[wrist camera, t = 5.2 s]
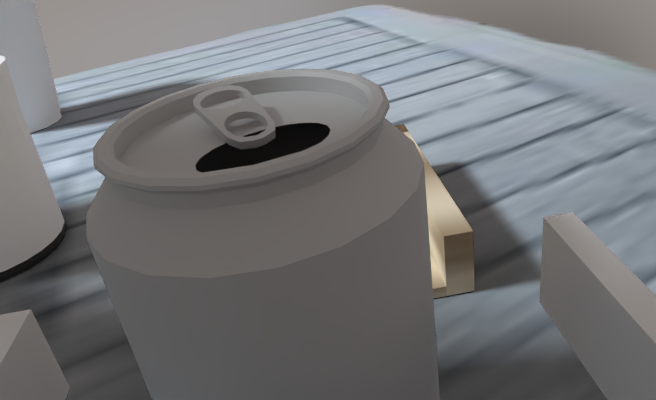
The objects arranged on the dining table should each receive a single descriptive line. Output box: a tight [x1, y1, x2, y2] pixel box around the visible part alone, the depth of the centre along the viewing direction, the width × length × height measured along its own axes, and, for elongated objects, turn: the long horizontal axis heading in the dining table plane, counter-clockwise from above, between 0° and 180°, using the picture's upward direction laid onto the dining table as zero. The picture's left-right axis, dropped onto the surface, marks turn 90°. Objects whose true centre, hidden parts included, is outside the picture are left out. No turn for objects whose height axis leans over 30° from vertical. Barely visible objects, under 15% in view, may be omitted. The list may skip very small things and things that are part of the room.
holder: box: [395, 124, 475, 298], centre depth 29 cm, size 12×13×3 cm
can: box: [86, 69, 440, 400], centre depth 15 cm, size 8×8×12 cm
